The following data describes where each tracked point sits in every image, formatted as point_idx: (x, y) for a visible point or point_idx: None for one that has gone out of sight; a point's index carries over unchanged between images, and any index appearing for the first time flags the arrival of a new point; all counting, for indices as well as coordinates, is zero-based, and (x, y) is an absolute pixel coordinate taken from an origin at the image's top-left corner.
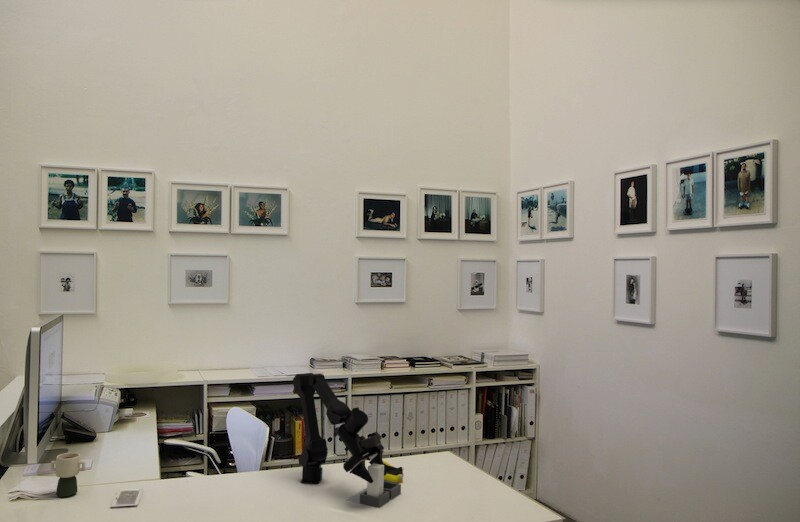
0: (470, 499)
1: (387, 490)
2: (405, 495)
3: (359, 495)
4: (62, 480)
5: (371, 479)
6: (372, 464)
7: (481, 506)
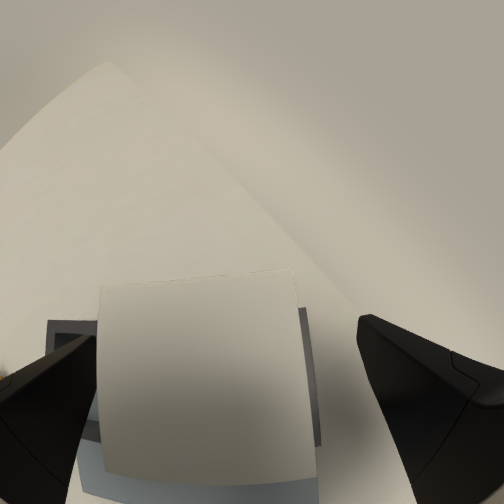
0: (54, 152)
1: None
2: (67, 319)
3: (210, 495)
4: None
5: (387, 321)
6: (165, 469)
7: (92, 117)
